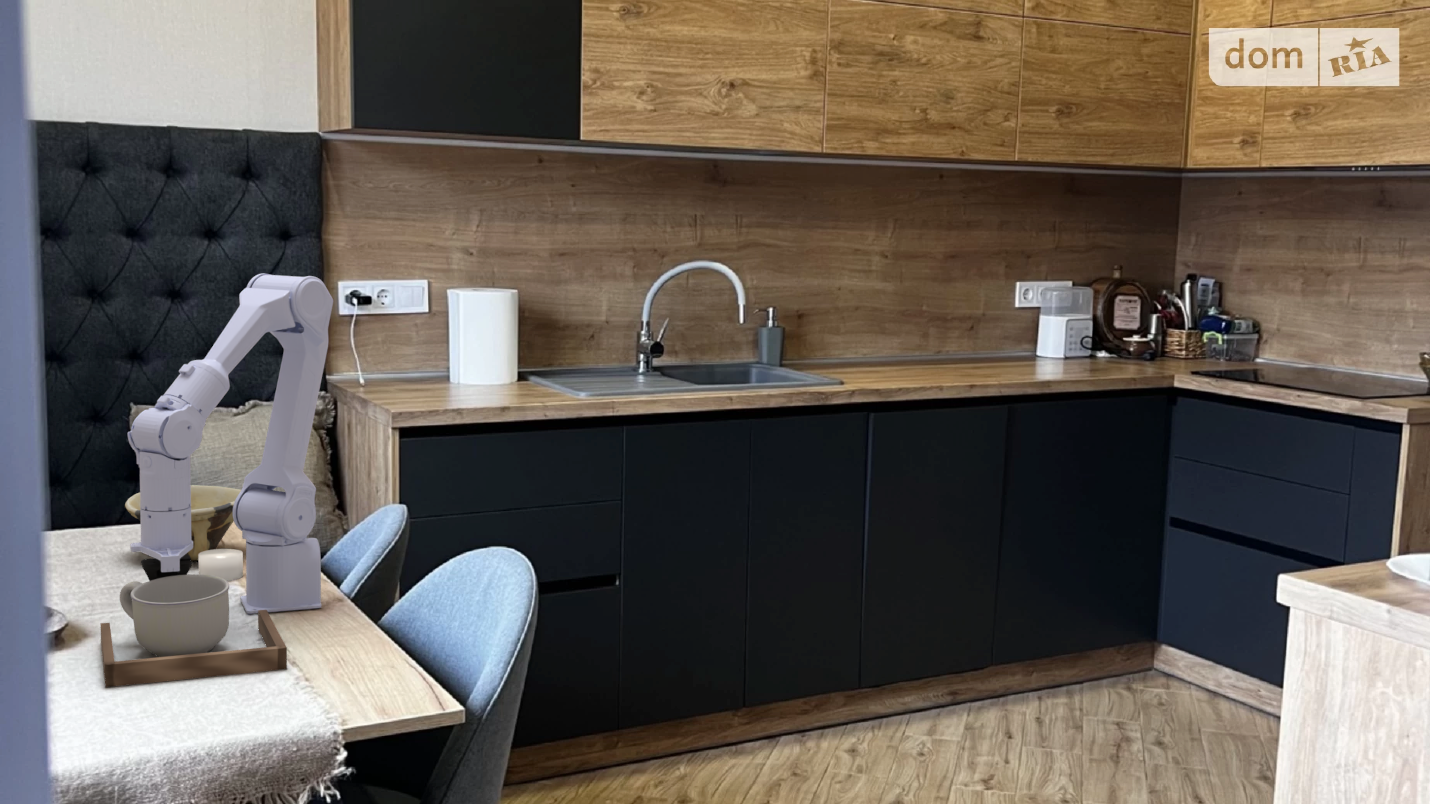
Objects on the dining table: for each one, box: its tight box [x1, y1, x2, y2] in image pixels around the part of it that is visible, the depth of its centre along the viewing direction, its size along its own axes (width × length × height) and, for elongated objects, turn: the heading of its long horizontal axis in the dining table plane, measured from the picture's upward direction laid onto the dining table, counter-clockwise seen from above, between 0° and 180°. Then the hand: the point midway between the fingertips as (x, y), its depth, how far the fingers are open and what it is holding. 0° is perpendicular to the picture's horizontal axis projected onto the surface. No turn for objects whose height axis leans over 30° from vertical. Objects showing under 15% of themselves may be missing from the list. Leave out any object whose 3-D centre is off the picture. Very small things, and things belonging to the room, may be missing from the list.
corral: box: [100, 610, 288, 688], centre depth 159 cm, size 19×17×2 cm
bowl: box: [124, 484, 242, 562], centre depth 206 cm, size 18×18×10 cm
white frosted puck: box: [197, 548, 244, 582], centre depth 195 cm, size 6×6×4 cm
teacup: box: [119, 573, 230, 658], centre depth 161 cm, size 14×11×8 cm
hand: (167, 616), depth 166 cm, fingers closed
